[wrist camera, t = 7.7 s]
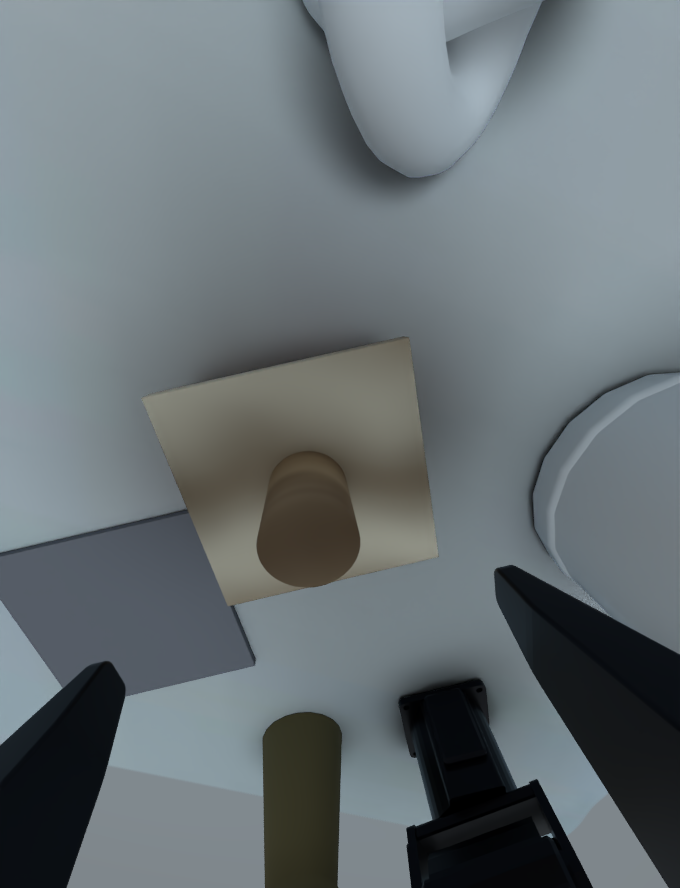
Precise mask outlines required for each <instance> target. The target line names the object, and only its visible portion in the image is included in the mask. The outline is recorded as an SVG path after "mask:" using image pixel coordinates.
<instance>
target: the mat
mask: <svg viewBox="0 0 680 888" xmlns="http://www.w3.org/2000/svg"><path fill="white" fill-rule="evenodd" d="M0 600H1V601H2V603H3V604H4V605H5V607H6V608H7V610H8V611H9V613H10V614H11V615H12V617H13V618H14V620H15V621H16V622H17V624H18V625H19V627H20V628H21V630H22V631H23V632H24V634H25V635H26V637H27V638H28V639H29V641H30V642H31V644H32V645H33V647H34V648H35V649H36V651H37V652H38V654H39V655H40V656H41V658H42V659H43V661H44V662H45V664H46V665H47V666H48V668H49V669H50V671H51V672H52V673H53V675H54V676H55V678H56V679H57V680H58V682H59V683H60V685H61V686H62V688H64V687H65V686H66V685H67V684H68V683H69V682H70V681H71V680H73V679H74V678H75V677H76V676H77V675H78V674H79V673H80V672H81V671H82V670H84V669H85V668H86V667H87V666H89V665H91V664H94V663H98V662H102V661H110V662H111V663H112V664H113V665H114V667H115V668H116V670H117V672H118V673H119V675H120V677H121V678H122V680H123V681H124V683H125V687H126V694H125V696H129V695H133V694H138V693H142V692H146V691H150V690H154V689H159V688H163V687H167V686H171V685H175V684H180V683H184V682H188V681H192V680H196V679H201V678H205V677H209V676H213V675H217V674H222V673H226V672H230V671H234V670H238V669H243V668H247V667H251V666H255V661H256V660H255V657H254V655H253V653H252V650H251V648H250V645H249V643H248V640H247V638H246V636H245V633H244V631H243V628H242V626H241V623H240V621H239V618H238V616H237V614H236V611H235V609H234V606H233V605H232V606H228V605H227V603H226V601H225V598H224V596H223V593H222V591H221V589H220V586H219V584H218V581H217V579H216V577H215V574H214V572H213V569H212V567H211V565H210V562H209V560H208V557H207V555H206V553H205V550H204V548H203V545H202V543H201V541H200V538H199V536H198V533H197V531H196V529H195V526H194V524H193V521H192V519H191V517H190V514H189V512H188V510H186V511H181V512H177V513H173V514H168V515H164V516H160V517H155V518H151V519H147V520H142V521H138V522H134V523H130V524H125V525H121V526H117V527H112V528H108V529H104V530H99V531H95V532H91V533H86V534H82V535H78V536H73V537H69V538H65V539H61V540H56V541H52V542H48V543H43V544H39V545H35V546H30V547H26V548H22V549H17V550H13V551H9V552H4V553H0Z"/></svg>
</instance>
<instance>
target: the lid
mask: <svg viewBox="0 0 680 888" xmlns="http://www.w3.org/2000/svg"><path fill="white" fill-rule="evenodd" d="M141 399H142V401H143V404H144V406H145V408H146V411H147V413H148V416H149V418H150V420H151V423H152V425H153V428H154V430H155V432H156V435H157V437H158V440H159V442H160V444H161V447H162V449H163V452H164V454H165V456H166V459H167V461H168V464H169V466H170V468H171V471H172V473H173V476H174V478H175V480H176V483H177V485H178V488H179V490H180V493H181V495H182V497H183V500H184V502H185V505H186V507H187V509H188V512H189V514H190V517H191V519H192V521H193V524H194V526H195V529H196V531H197V533H198V536H199V538H200V541H201V543H202V545H203V548H204V550H205V553H206V555H207V557H208V560H209V562H210V565H211V567H212V569H213V572H214V574H215V577H216V579H217V581H218V584H219V586H220V589H221V591H222V593H223V596H224V598H225V601H226V603H227V605H228V606H232V605H236V604H240V603H244V602H249V601H253V600H257V599H261V598H266V597H270V596H274V595H278V594H283V593H287V592H291V591H296V590H300V589H304V588H309V587H318V586H322V585H326V584H328V583H331V582H334V581H338V580H342V579H347V578H351V577H355V576H360V575H364V574H368V573H372V572H377V571H381V570H385V569H389V568H394V567H398V566H402V565H406V564H411V563H415V562H419V561H424V560H428V559H432V558H436V557H439V556H438V548H437V541H436V533H435V526H434V518H433V511H432V504H431V496H430V489H429V481H428V474H427V466H426V459H425V452H424V444H423V437H422V429H421V422H420V414H419V407H418V400H417V392H416V385H415V377H414V370H413V362H412V355H411V348H410V340H409V338H408V337H404V336H403V337H399V338H394V339H390V340H386V341H381V342H377V343H372V344H368V345H363V346H359V347H354V348H350V349H346V350H341V351H337V352H332V353H328V354H323V355H319V356H315V357H310V358H306V359H301V360H297V361H292V362H288V363H284V364H279V365H275V366H270V367H266V368H261V369H257V370H253V371H248V372H244V373H239V374H235V375H230V376H226V377H221V378H217V379H213V380H208V381H204V382H199V383H195V384H190V385H186V386H182V387H177V388H173V389H168V390H164V391H159V392H155V393H151V394H148V395H146V396H144V397H142V398H141Z"/></svg>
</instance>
